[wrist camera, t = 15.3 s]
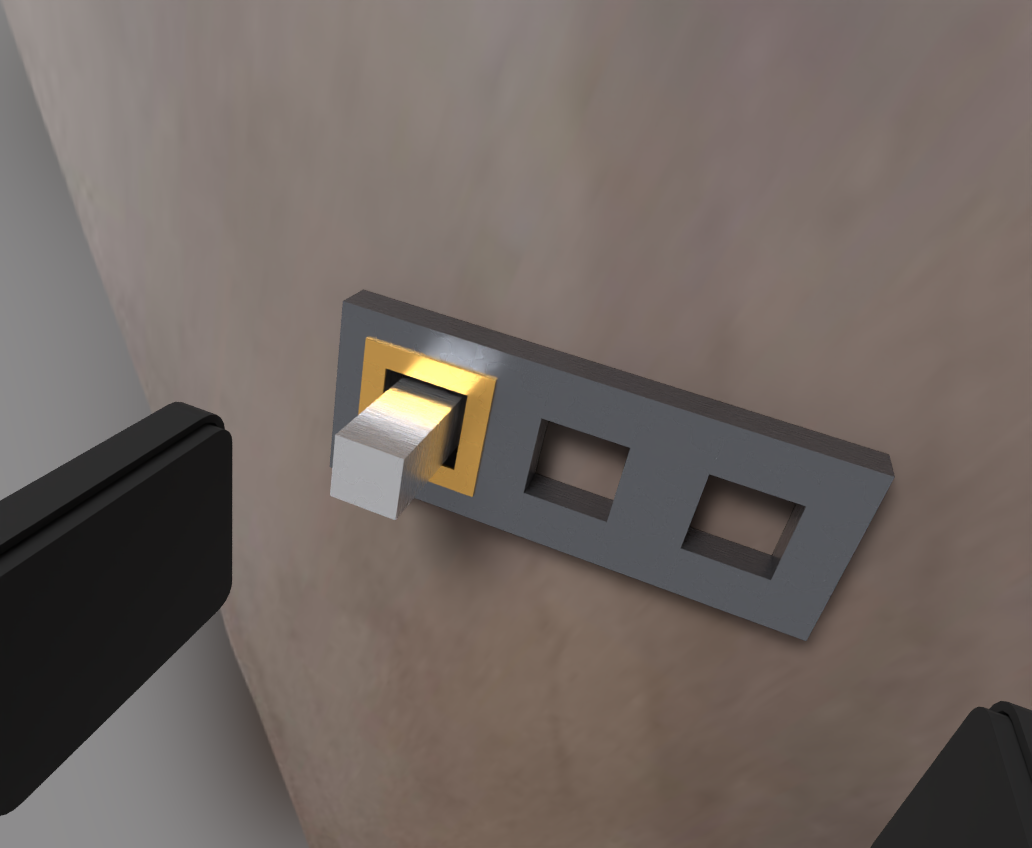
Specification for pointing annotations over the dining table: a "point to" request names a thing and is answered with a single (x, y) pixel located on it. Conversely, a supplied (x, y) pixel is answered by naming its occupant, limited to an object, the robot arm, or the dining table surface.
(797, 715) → the dining table surface
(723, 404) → the rail
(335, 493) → the steel peg
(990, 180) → the dining table surface
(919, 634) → the dining table surface
